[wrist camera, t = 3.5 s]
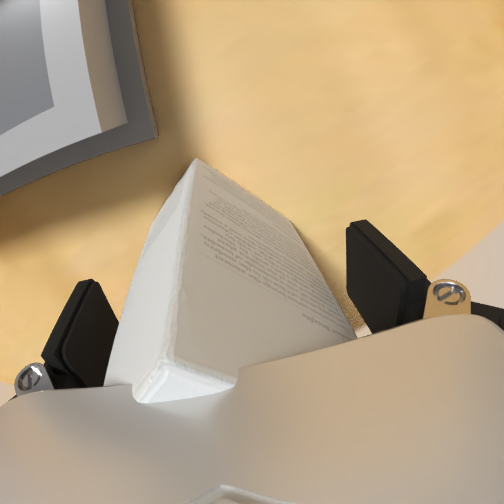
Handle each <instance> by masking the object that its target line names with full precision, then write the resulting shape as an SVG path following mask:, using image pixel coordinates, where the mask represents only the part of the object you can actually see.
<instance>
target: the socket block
mask: <svg viewBox="0 0 504 504" xmlns="http://www.w3.org/2000/svg"><path fill="white" fill-rule="evenodd" d="M157 136H159V135H158V130H157V126H156V122H155V117H154V113H153V109H152V104H151V100H150V95H149V90H148V86H147V81H146V76H145V71H144V66H143V61H142V56H141V50H140V45H139V40H138V34H137V28H136V22H135V16H134V10H133V4H132V0H0V196H2V195H4V194H6V193H8V192H10V191H12V190H15V189H17V188H19V187H21V186H23V185H25V184H28V183H30V182H32V181H34V180H37V179H39V178H41V177H44V176H46V175H49V174H51V173H53V172H56V171H58V170H61V169H64V168H66V167H69V166H71V165H74V164H77V163H79V162H82V161H85V160H88V159H90V158H93V157H96V156H99V155H102V154H105V153H108V152H111V151H114V150H117V149H120V148H123V147H126V146H130V145H133V144H136V143H140V142H143V141H147V140H150V139H154V138H156V137H157Z"/></svg>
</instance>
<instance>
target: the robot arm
mask: <svg viewBox="0 0 504 504" xmlns="http://www.w3.org/2000/svg"><path fill="white" fill-rule="evenodd" d="M346 266H347V284H346V287H347V293H348V295H349V297H350V299H351V300H352V302H353V304H354V305H355V307H356V308H357V310H358V311H359V313H360V315H361V316H362V318H363V319H364V321H365V323H366V324H367V326H368V327H369V329H370V331H371V332H372V334H371V335H367V336H364V337H361V338H358V339H354V340H351V341H348V342H344V343H341V344H337V345H334V346H330V347H326V348H323V349H319V350H315V351H311V352H307V353H303V354H299V355H295V356H291V357H287V358H283V359H279V360H274V361H270V362H265V363H261V364H256V365H251V366H247V367H242V368H238V381H237V383H236V385H235V386H234V387H231V388H229V389H226V390H224V391H221V392H217V393H214V394H209V395H204V396H198V397H192V398H186V399H179V400H172V401H164V402H155V403H138V402H137V401H136V400H135V399H134V398H133V395H132V386H133V384H126V385H115V386H104V381H105V376H106V372H107V368H108V364H109V360H110V355H111V351H112V347H113V344H114V340H115V336H116V333H117V329H118V326H119V322H118V320H117V318H116V316H115V314H114V312H113V310H112V308H111V306H110V304H109V302H108V300H107V298H106V296H105V294H104V292H103V290H102V288H101V286H100V284H99V283H98V282H95V281H94V280H93V279H88V280H84V281H80V282H78V283H77V285H76V287H75V289H74V290H73V292H72V294H71V296H70V298H69V299H68V301H67V303H66V305H65V307H64V309H63V311H62V313H61V315H60V317H59V319H58V321H57V323H56V325H55V327H54V329H53V331H52V333H51V335H50V337H49V339H48V341H47V343H46V345H45V347H44V350H43V352H42V354H41V357H42V358H43V359H44V361H45V363H44V365H43V364H41V363H32V364H29V365H28V366H26V367H25V368H23V369H22V370H21V371H20V373H19V374H18V375H17V377H16V379H15V384H14V386H15V391H16V395H15V396H14V397H13V398H12V399H10V400H9V401H8V402H6V403H5V404H3V405H2V406H1V407H0V504H504V309H502V308H498V307H493V306H489V305H485V304H480V303H475V302H471V296H470V293H469V291H468V289H467V288H466V287H465V286H464V285H463V284H461V283H459V282H457V281H454V280H450V279H441V280H437V281H435V282H433V283H431V282H430V281H429V280H428V279H427V276H426V275H425V274H424V273H423V272H422V271H421V270H420V269H419V268H418V267H417V266H416V265H415V264H414V263H413V262H412V261H411V260H410V259H409V258H408V257H407V256H406V255H405V254H403V253H402V252H401V251H400V250H399V249H398V248H397V247H396V246H395V245H394V244H393V243H392V242H391V241H390V240H388V239H387V238H386V237H385V236H384V235H383V234H382V233H381V232H380V231H378V230H377V229H376V228H375V227H374V226H373V225H372V224H371V223H369V222H368V221H367V220H360V221H355V222H351V223H350V227H347V228H346Z"/></svg>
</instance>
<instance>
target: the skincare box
mask: <svg viewBox="0 0 504 504" xmlns="http://www.w3.org/2000/svg"><path fill="white" fill-rule="evenodd" d="M354 339H358V338H357V336H356V334H355V332H354V330H353V328H352V327H351V325H350V323H349V321H348V320H347V318H346V316H345V314H344V312H343V311H342V309H341V307H340V305H339V303H338V301H337V300H336V298H335V296H334V294H333V292H332V291H331V289H330V287H329V286H328V284H327V282H326V280H325V279H324V277H323V275H322V273H321V272H320V270H319V268H318V267H317V265H316V263H315V261H314V260H313V258H312V256H311V255H310V253H309V251H308V250H307V248H306V246H305V244H304V243H303V241H302V239H301V238H300V236H299V234H298V233H297V231H296V229H295V228H294V226H293V224H292V223H291V221H290V220H289V219H287V218H286V217H284V216H283V215H282V214H280V213H279V212H277V211H276V210H274V209H273V208H272V207H270V206H269V205H267V204H266V203H264V202H263V201H261V200H260V199H258V198H257V197H255V196H254V195H253V194H251V193H250V192H248V191H247V190H245V189H244V188H242V187H241V186H239V185H238V184H236V183H235V182H233V181H232V180H230V179H229V178H227V177H226V176H224V175H223V174H221V173H220V172H218V171H217V170H215V169H214V168H212V167H211V166H209V165H207V164H206V163H204V162H203V161H201V160H200V159H198V158H195V159H194V160H193V161H192V163H191V164H190V166H189V167H188V169H187V170H186V171H185V173H184V174H183V176H182V177H181V179H180V180H179V181H178V183H177V184H176V186H175V187H174V189H173V191H172V192H171V194H170V195H169V197H168V198H167V200H166V202H165V203H164V205H163V206H162V208H161V210H160V211H159V213H158V215H157V216H156V218H155V220H154V221H153V223H152V225H151V227H150V230H149V233H148V236H147V238H146V241H145V244H144V246H143V249H142V252H141V255H140V258H139V261H138V264H137V267H136V270H135V273H134V276H133V279H132V282H131V285H130V288H129V291H128V295H127V298H126V301H125V304H124V308H123V312H122V315H121V318H120V322H119V326H118V329H117V333H116V336H115V340H114V344H113V347H112V351H111V355H110V360H109V364H108V368H107V372H106V376H105V381H104V386H115V385H126V384H133V386H132V395H133V398H134V399H135V400H136V401H137V402H138V403H155V402H164V401H172V400H179V399H186V398H192V397H198V396H204V395H209V394H214V393H217V392H221V391H224V390H226V389H229V388H231V387H234V386H235V385H236V383H237V381H238V368H242V367H247V366H251V365H256V364H261V363H265V362H270V361H274V360H279V359H283V358H287V357H291V356H295V355H299V354H303V353H307V352H311V351H315V350H319V349H323V348H326V347H330V346H334V345H337V344H341V343H344V342H348V341H351V340H354Z"/></svg>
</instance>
